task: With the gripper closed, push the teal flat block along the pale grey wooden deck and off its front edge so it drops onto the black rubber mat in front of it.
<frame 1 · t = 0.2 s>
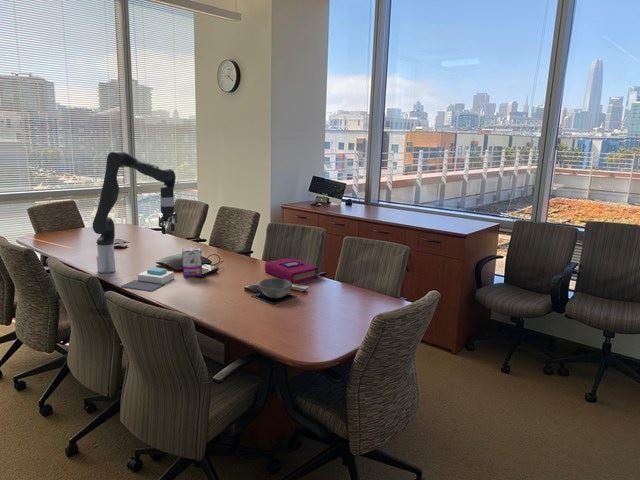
hand: (168, 232, 275), 28 cm above the table, fingers open, 8 cm apart
mat: (142, 286, 268), on the table
deck: (156, 279, 280), on the table
bowl: (275, 296, 259), on the table
teal flat block: (157, 272, 280), point 4 cm above the table, touching deck
candy bar box: (192, 275, 289), on the table
book: (291, 276, 297), on the table
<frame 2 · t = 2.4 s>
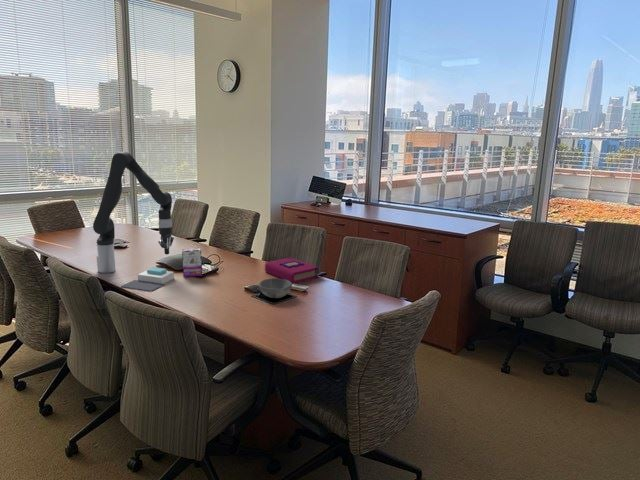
hand: (167, 254, 287), 13 cm above the table, fingers closed
nothing on the table moved.
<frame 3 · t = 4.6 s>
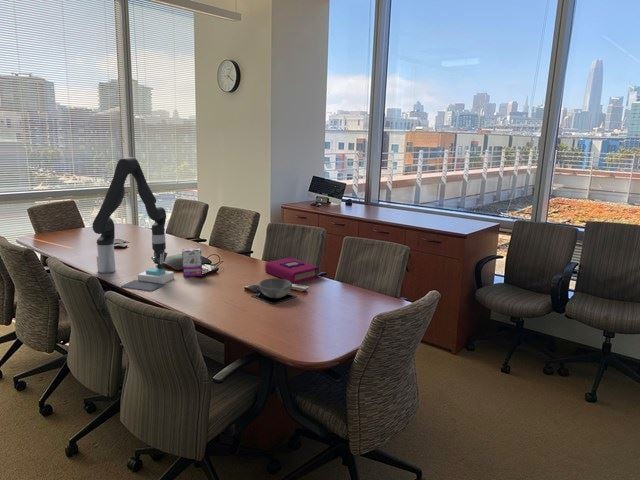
hand: (160, 269, 282), 5 cm above the table, fingers closed
teal flat block: (155, 273, 278), point 4 cm above the table, touching gripper
everything else where it was.
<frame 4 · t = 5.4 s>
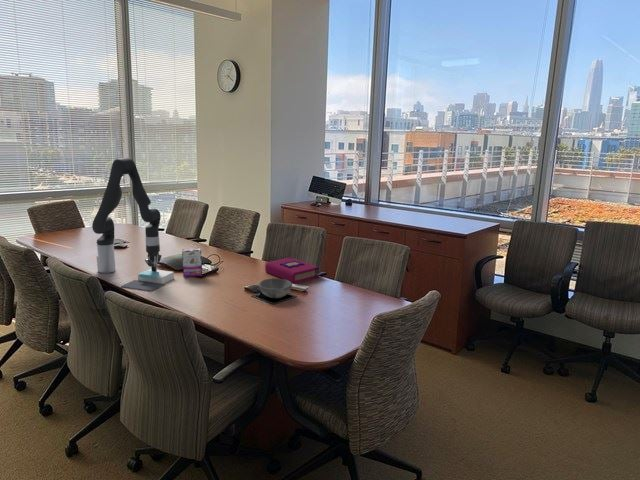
hand: (154, 272, 277), 5 cm above the table, fingers closed
teal flat block: (149, 276, 273), point 4 cm above the table, touching deck, gripper
everything else where it was.
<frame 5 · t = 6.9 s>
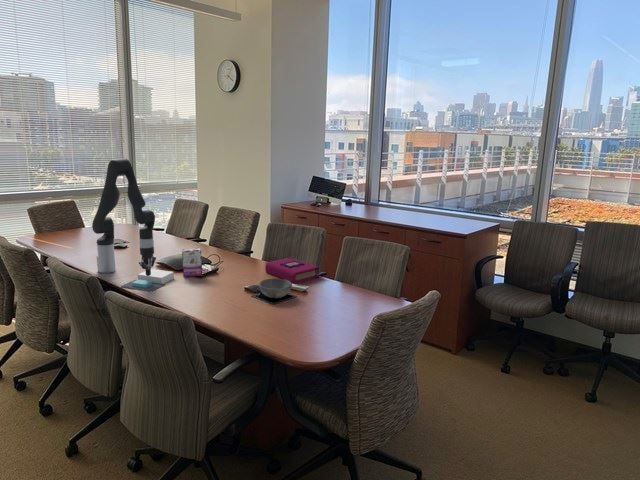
hand: (148, 275, 272), 5 cm above the table, fingers closed
teal flat block: (142, 281, 267), point 3 cm above the table, tilted 180°, touching mat
everything else where it was.
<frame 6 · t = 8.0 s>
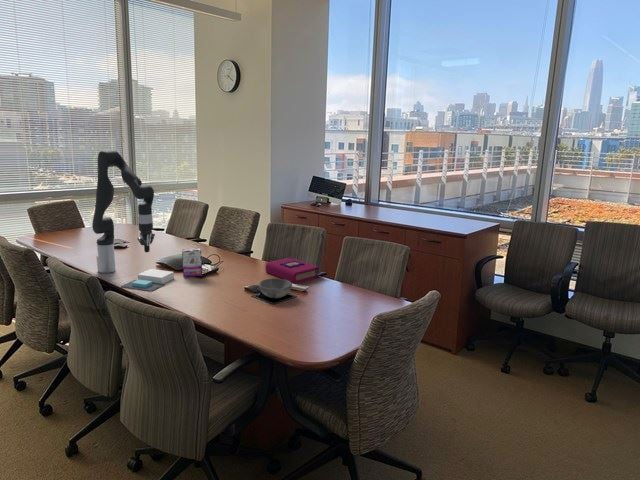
hand: (147, 251, 269), 19 cm above the table, fingers closed
nothing on the table moved.
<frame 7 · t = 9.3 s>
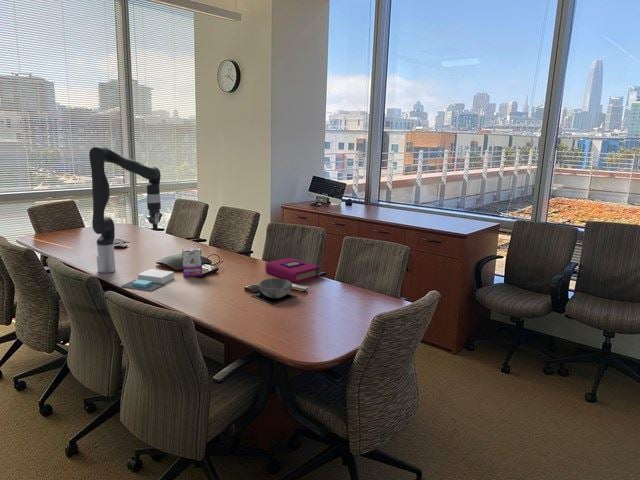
hand: (155, 230, 285), 27 cm above the table, fingers closed
nothing on the table moved.
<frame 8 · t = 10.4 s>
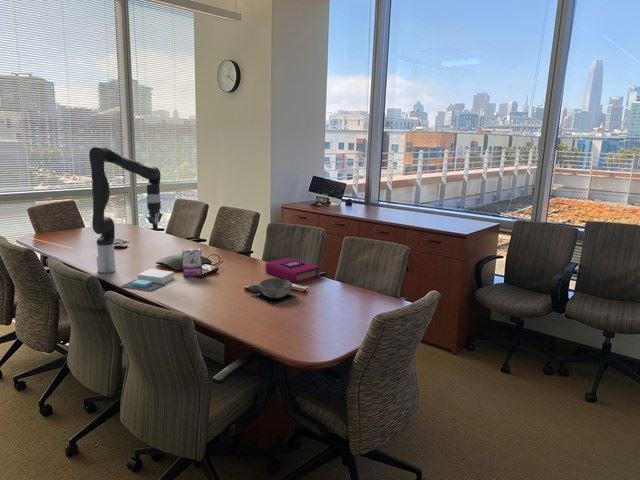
hand: (155, 230, 285), 27 cm above the table, fingers closed
nothing on the table moved.
at the end: teal flat block point 2.6 cm above the table; teal flat block inside the target area on the mat (0.5 cm from its centre), point 2.6 cm above the mat's base; teal flat block touching mat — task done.
